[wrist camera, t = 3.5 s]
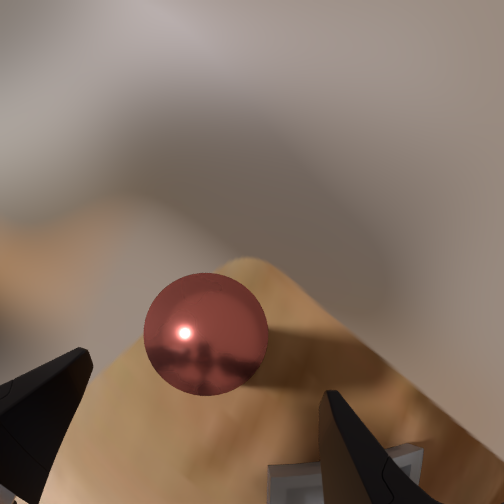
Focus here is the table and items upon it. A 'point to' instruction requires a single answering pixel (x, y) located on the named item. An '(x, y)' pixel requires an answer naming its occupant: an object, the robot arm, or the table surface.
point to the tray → (310, 478)
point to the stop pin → (205, 334)
